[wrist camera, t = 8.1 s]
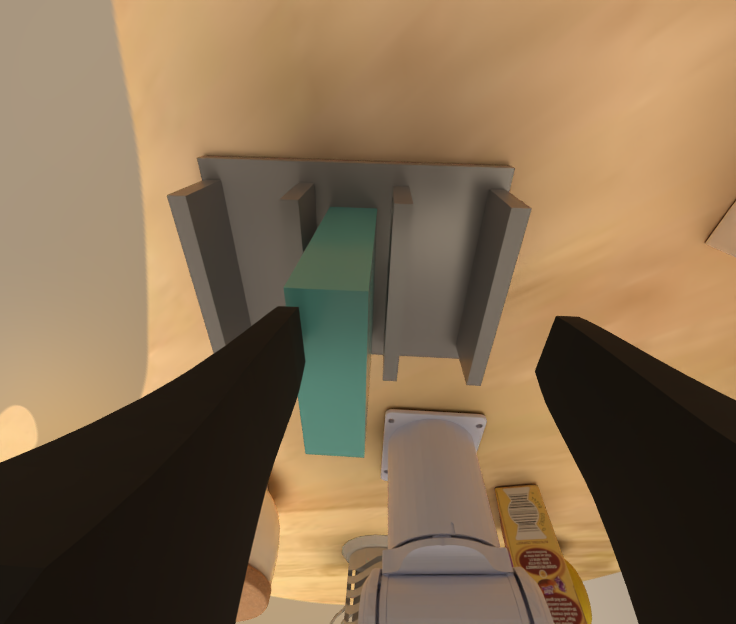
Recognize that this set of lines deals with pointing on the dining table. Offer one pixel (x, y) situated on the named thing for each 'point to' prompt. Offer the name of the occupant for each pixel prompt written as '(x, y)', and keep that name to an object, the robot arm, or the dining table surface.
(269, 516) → the lidded bowl
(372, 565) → the french press
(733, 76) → the dining table surface
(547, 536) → the candy box
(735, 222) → the milk
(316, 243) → the teal upright slab
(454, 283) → the rack
